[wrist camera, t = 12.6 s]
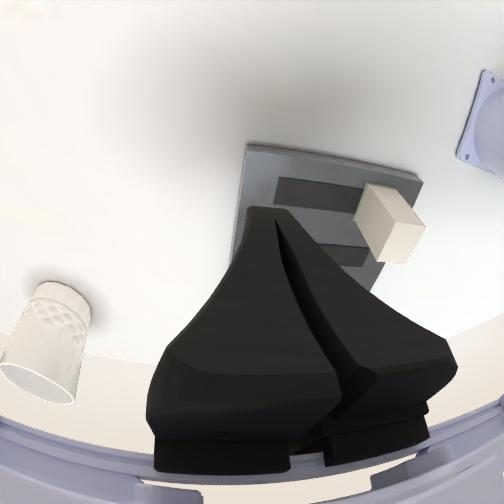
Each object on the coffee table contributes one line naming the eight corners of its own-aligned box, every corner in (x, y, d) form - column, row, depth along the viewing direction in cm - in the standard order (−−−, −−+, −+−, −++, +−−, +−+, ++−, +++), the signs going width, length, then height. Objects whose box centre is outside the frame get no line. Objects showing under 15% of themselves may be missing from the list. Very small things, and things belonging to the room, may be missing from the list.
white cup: (85, 334, 31) (66, 411, 23) (27, 303, 27) (-2, 378, 19) (106, 301, 27) (83, 394, 19) (38, 263, 23) (-3, 352, 16)
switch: (396, 189, 19) (426, 226, 16) (381, 223, 21) (406, 263, 18) (368, 184, 19) (395, 222, 16) (354, 220, 21) (376, 261, 18)
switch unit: (415, 174, 20) (424, 183, 19) (352, 305, 30) (356, 315, 29) (246, 143, 18) (247, 151, 17) (224, 302, 28) (224, 313, 27)
